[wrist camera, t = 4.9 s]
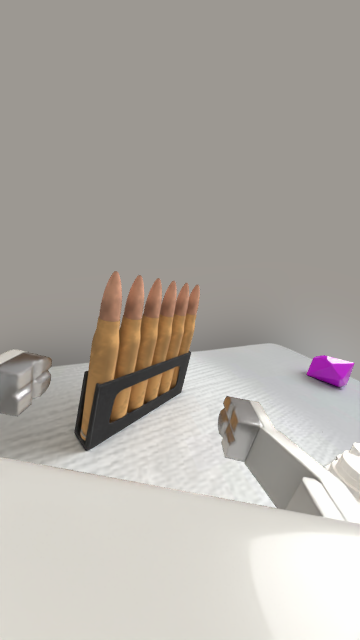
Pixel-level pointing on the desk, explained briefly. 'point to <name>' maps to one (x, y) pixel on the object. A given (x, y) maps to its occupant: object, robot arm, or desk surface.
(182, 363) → the ammunition clip
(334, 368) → the crystal
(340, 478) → the white lobed figurine
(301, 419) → the desk surface
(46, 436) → the desk surface
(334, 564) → the robot arm
